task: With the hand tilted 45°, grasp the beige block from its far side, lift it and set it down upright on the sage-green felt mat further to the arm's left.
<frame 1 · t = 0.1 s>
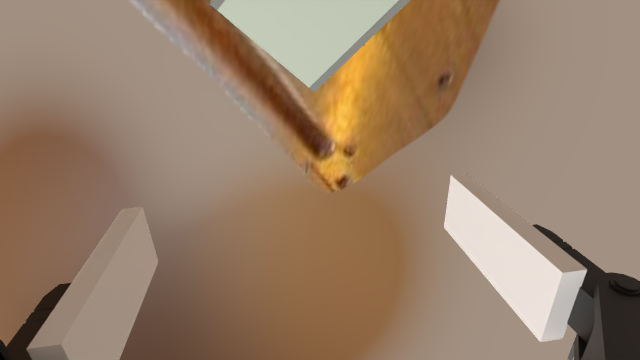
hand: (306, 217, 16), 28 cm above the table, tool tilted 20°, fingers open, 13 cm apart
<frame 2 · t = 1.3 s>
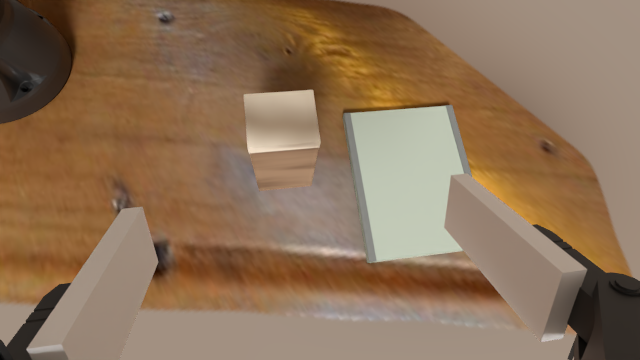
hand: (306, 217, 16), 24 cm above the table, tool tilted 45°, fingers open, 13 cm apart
mat: (411, 179, 43), on the table
beige block: (283, 168, 42), on the table
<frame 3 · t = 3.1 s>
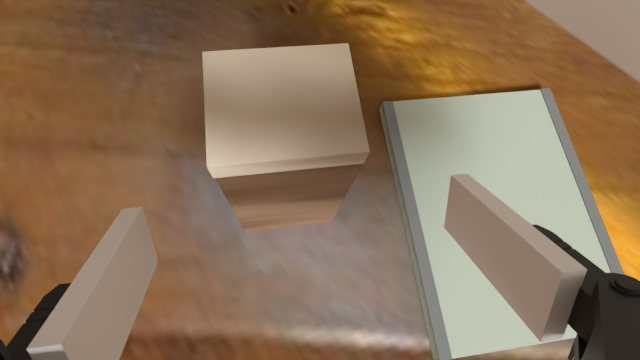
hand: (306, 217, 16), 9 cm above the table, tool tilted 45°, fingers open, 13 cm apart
mat: (494, 208, 26), on the table
beige block: (285, 192, 26), on the table
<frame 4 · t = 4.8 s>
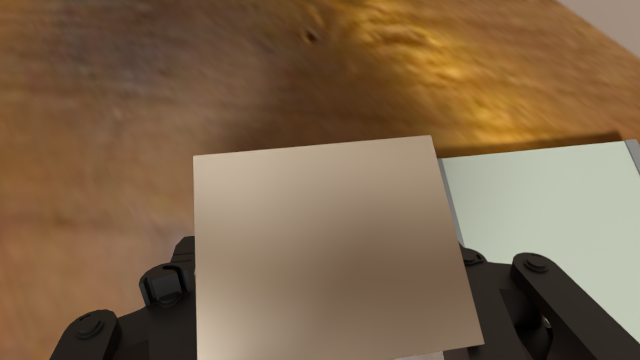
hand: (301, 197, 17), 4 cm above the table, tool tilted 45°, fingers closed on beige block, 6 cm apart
mat: (575, 301, 20), on the table
beige block: (307, 281, 20), on the table, touching gripper
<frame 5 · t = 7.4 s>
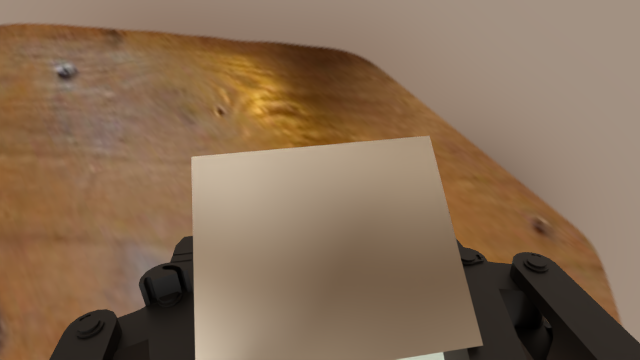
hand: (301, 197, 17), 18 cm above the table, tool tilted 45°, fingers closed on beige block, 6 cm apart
beige block: (306, 282, 20), point 14 cm above the table, touching gripper
when the fingers open (6 cm above the table, at t = 10.3 s): beige block drops 1 cm, resting on mat.
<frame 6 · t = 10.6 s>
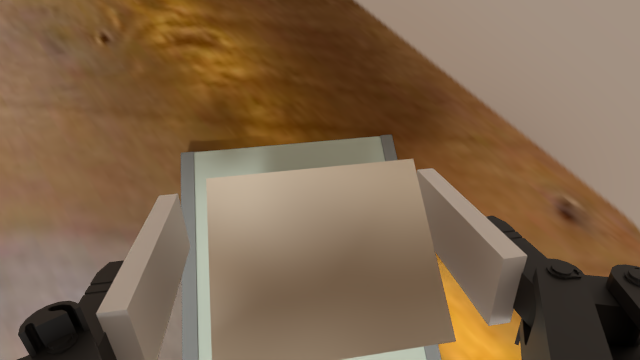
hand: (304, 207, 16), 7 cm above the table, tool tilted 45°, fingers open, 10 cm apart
mat: (305, 284, 22), on the table
beige block: (306, 284, 21), point 1 cm above the table, touching mat
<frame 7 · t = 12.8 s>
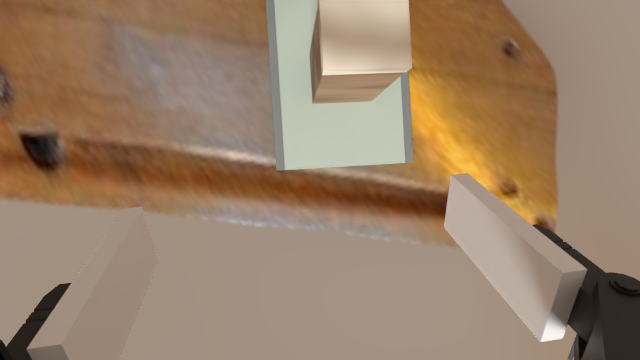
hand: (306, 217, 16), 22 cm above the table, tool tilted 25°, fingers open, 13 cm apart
mat: (339, 79, 37), on the table
beige block: (340, 77, 36), point 1 cm above the table, touching mat
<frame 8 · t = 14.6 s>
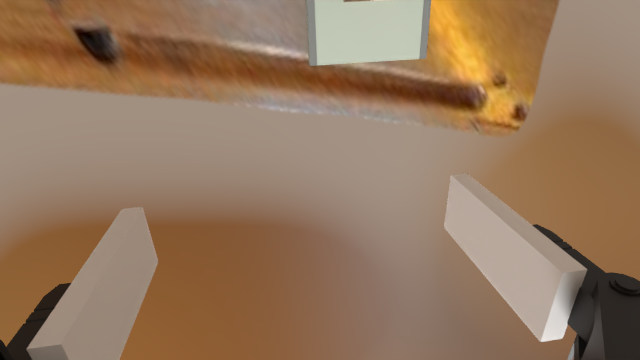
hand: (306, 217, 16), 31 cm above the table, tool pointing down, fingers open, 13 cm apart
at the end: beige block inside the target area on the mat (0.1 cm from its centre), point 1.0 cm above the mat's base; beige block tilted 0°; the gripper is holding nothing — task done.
